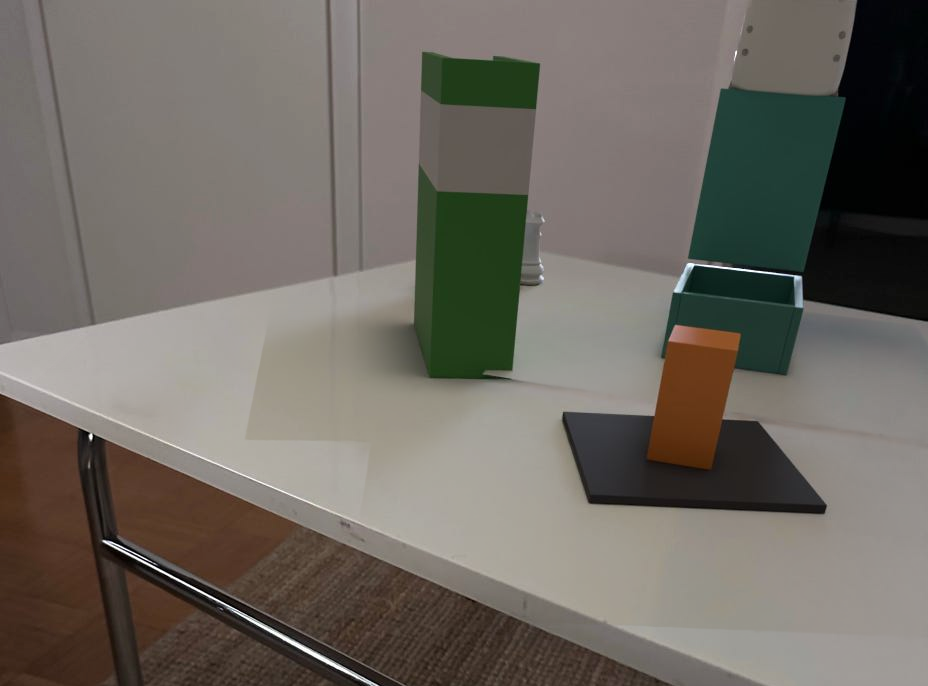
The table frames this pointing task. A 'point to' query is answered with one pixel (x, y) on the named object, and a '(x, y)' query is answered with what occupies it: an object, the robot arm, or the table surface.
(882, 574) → the table surface
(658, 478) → the mat
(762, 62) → the robot arm
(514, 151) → the green and white box
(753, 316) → the lunchbox
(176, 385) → the table surface
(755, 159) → the lunchbox lid
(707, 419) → the carton
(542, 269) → the rook chess piece
